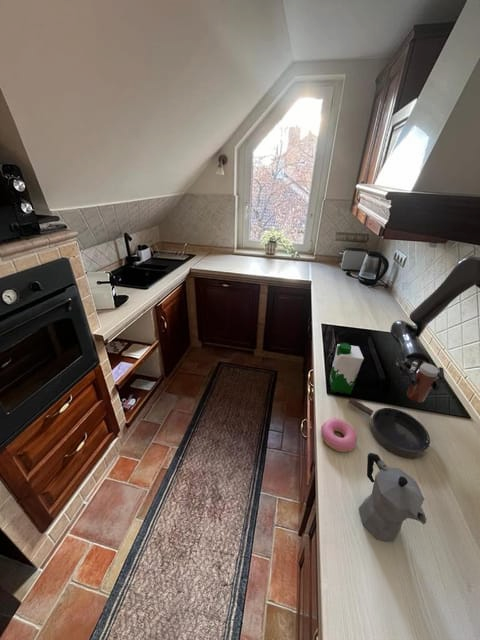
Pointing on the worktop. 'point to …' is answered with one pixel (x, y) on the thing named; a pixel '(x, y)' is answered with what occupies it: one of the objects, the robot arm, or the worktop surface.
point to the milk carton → (345, 368)
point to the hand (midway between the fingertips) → (425, 385)
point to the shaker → (423, 382)
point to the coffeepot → (390, 501)
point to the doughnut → (337, 442)
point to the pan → (399, 433)
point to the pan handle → (360, 406)
